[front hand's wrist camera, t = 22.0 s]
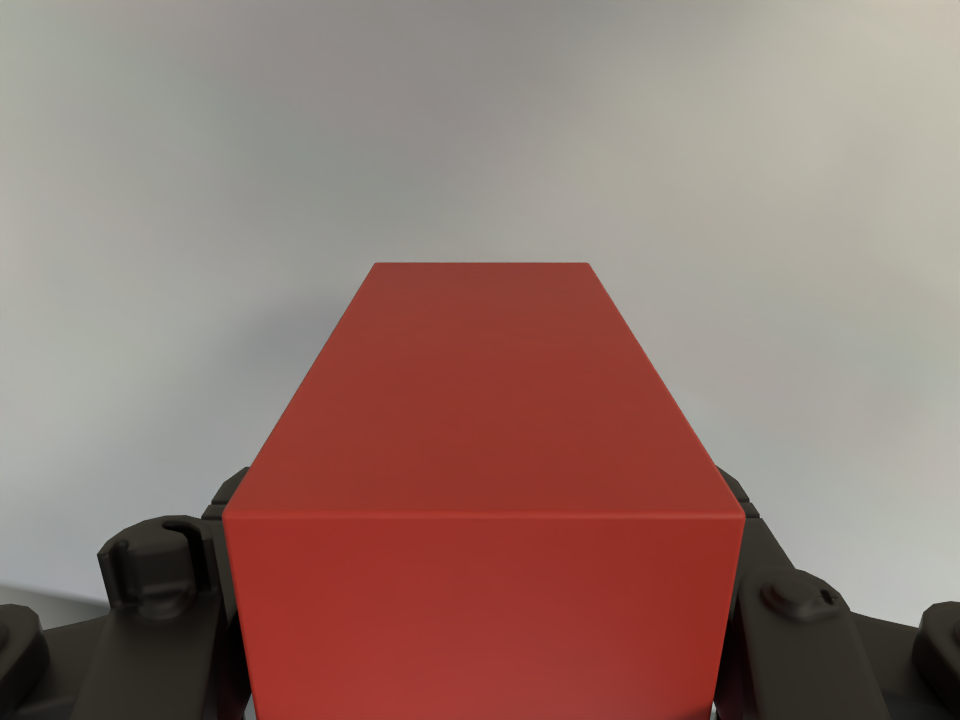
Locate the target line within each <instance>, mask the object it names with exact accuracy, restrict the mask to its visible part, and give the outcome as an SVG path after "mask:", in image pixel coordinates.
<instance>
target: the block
mask: <svg viewBox="0 0 960 720" xmlns="http://www.w3.org/2000/svg"><path fill="white" fill-rule="evenodd" d="M745 518H746V516H745V512H744V510H743V509H742V507H741V505H740V504H739V502H738V501H737V499H736V497H735V496H734V494H733V493H732V491H731V489H730V488H729V486H728V485H727V483H726V481H725V480H724V478H723V477H722V475H721V473H720V472H719V470H718V469H717V467H716V466H715V464H714V462H713V461H712V459H711V458H710V456H709V454H708V453H707V451H706V450H705V448H704V446H703V445H702V443H701V442H700V440H699V438H698V437H697V435H696V434H695V432H694V430H693V429H692V427H691V426H690V424H689V422H688V421H687V419H686V418H685V416H684V414H683V413H682V411H681V410H680V408H679V407H678V405H677V403H676V402H675V400H674V399H673V397H672V395H671V394H670V392H669V391H668V389H667V387H666V386H665V384H664V383H663V381H662V379H661V378H660V376H659V375H658V373H657V371H656V370H655V368H654V367H653V365H652V363H651V362H650V360H649V359H648V357H647V355H646V354H645V352H644V351H643V349H642V347H641V346H640V344H639V343H638V341H637V340H636V338H635V336H634V335H633V333H632V332H631V330H630V328H629V327H628V325H627V324H626V322H625V320H624V319H623V317H622V316H621V314H620V312H619V311H618V309H617V308H616V306H615V304H614V303H613V301H612V300H611V298H610V296H609V295H608V293H607V292H606V290H605V288H604V287H603V285H602V284H601V282H600V280H599V279H598V277H597V276H596V274H595V273H594V271H593V269H592V268H591V266H590V265H589V263H375V264H374V265H373V267H372V268H371V270H370V272H369V273H368V275H367V277H366V278H365V280H364V281H363V283H362V285H361V286H360V288H359V290H358V291H357V293H356V295H355V296H354V298H353V299H352V301H351V303H350V304H349V306H348V308H347V309H346V311H345V313H344V314H343V316H342V317H341V319H340V321H339V322H338V324H337V326H336V327H335V329H334V331H333V332H332V334H331V335H330V337H329V339H328V340H327V342H326V344H325V345H324V347H323V349H322V350H321V352H320V353H319V355H318V357H317V358H316V360H315V362H314V363H313V365H312V367H311V368H310V370H309V371H308V373H307V375H306V376H305V378H304V380H303V381H302V383H301V385H300V386H299V388H298V389H297V391H296V393H295V394H294V396H293V398H292V399H291V401H290V403H289V404H288V406H287V407H286V409H285V411H284V412H283V414H282V416H281V417H280V419H279V421H278V422H277V424H276V425H275V427H274V429H273V430H272V432H271V434H270V435H269V437H268V439H267V440H266V442H265V443H264V445H263V447H262V448H261V450H260V452H259V453H258V455H257V457H256V458H255V460H254V461H253V463H252V465H251V466H250V468H249V470H248V471H247V473H246V475H245V476H244V478H243V479H242V481H241V483H240V484H239V486H238V488H237V489H236V491H235V493H234V494H233V496H232V497H231V499H230V501H229V502H228V504H227V506H226V507H225V509H224V511H223V513H222V522H223V527H224V533H225V539H226V545H227V551H228V556H229V562H230V568H231V574H232V580H233V586H234V591H235V597H236V603H237V609H238V615H239V620H240V626H241V632H242V638H243V644H244V649H245V655H246V661H247V667H248V673H249V679H250V684H251V690H252V696H253V702H254V708H255V713H256V719H257V720H710V715H711V710H712V704H713V698H714V693H715V687H716V682H717V676H718V670H719V665H720V659H721V653H722V648H723V642H724V637H725V631H726V625H727V620H728V614H729V609H730V603H731V597H732V592H733V586H734V581H735V575H736V569H737V564H738V558H739V552H740V547H741V541H742V536H743V530H744V524H745Z"/></svg>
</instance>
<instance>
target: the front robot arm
mask: <svg viewBox="0 0 960 720" xmlns="http://www.w3.org/2000/svg"><path fill="white" fill-rule="evenodd" d="M715 466H716V465H715ZM716 467H717V469H718V470H719V472H720V473H721V475H722V477H723V478H724V480H725V481H726V483H727V485H728V486H729V488H730V489H731V491H732V493H733V494H734V496H735V497H736V499H737V501H738V502H739V504H740V505H741V507H742V509H743V510H744V512H745V516H746V518H745V524H744V530H743V536H742V541H741V547H740V552H739V558H738V564H737V569H736V575H735V581H734V586H733V592H732V597H731V603H730V609H729V614H728V620H727V625H726V631H725V637H724V642H723V648H722V653H721V659H720V665H719V670H718V676H717V682H716V687H715V693H714V698H713V701H714V704H715V707H716V713H715V718H714V720H960V602H953V601H949V602H943V603H937V604H933V605H932V606H930V607H929V608H928V609H927V610H926V611H924V612H923V615H922V618H921V622H920V625H919V628H916V627H912V626H907V625H903V624H898V623H894V622H889V621H885V620H880V619H876V618H871V617H868V616H864V615H861V614H857V613H854V612H851V611H850V608H849V607H848V605H847V604H846V602H845V601H844V599H843V597H842V596H841V594H840V593H839V592H837V591H836V590H835V589H834V588H832V587H831V586H830V585H829V584H828V583H826V582H825V581H824V580H822V579H820V578H818V577H815V576H813V575H811V574H809V573H807V572H805V571H802V570H798V569H795V567H794V566H793V564H792V563H791V561H790V560H789V558H788V557H787V555H786V554H785V552H784V551H783V549H782V548H781V546H780V545H779V543H778V542H777V540H776V539H775V537H774V536H773V534H772V533H771V531H770V529H769V528H768V526H767V525H766V523H765V522H764V520H763V519H762V518H760V516H759V513H758V511H757V510H756V508H755V507H754V505H753V504H752V503H750V501H749V498H748V496H747V495H746V493H745V491H744V490H743V488H742V487H741V485H740V484H739V482H738V481H737V480H736V479H734V478H733V477H732V476H730V475H729V474H727V473H726V472H725V471H723V470H722V469H720V468H719V467H718V466H716ZM249 468H250V467H245V468H243V469H242V470H240V471H239V472H238V473H236V474H235V475H234V476H232V477H231V478H229V479H228V480H227V481H225V482H224V483H223V484H222V486H221V487H220V489H219V490H218V492H217V493H216V495H215V496H214V498H213V500H212V501H211V505H209V506H208V507H207V509H206V510H205V512H204V513H203V515H202V516H201V519H199V518H195V517H191V516H187V515H172V516H162V517H158V518H153V519H149V520H145V521H142V522H140V523H137V524H135V525H133V526H130V527H128V528H126V529H124V530H122V531H121V532H119V533H118V534H117V535H115V536H114V537H112V538H111V539H109V540H108V541H107V542H106V543H105V545H104V546H103V547H102V548H101V550H100V551H99V552H98V554H97V557H98V561H99V565H100V569H101V572H102V576H103V580H104V584H105V588H106V591H107V595H108V599H109V603H110V607H111V610H110V612H109V615H106V616H102V617H99V618H95V619H92V620H88V621H83V622H79V623H75V624H70V625H66V626H61V627H57V628H52V629H48V630H43V629H42V626H41V623H40V620H39V617H38V615H37V614H36V613H35V612H34V611H32V610H31V609H30V608H29V607H26V606H21V605H15V604H6V605H0V720H246V719H245V713H244V711H245V708H246V706H247V703H248V700H249V698H250V695H251V693H252V690H251V684H250V679H249V673H248V667H247V661H246V655H245V649H244V644H243V638H242V632H241V626H240V620H239V615H238V609H237V603H236V597H235V591H234V586H233V580H232V574H231V568H230V562H229V556H228V551H227V545H226V539H225V533H224V527H223V522H222V513H223V511H224V509H225V507H226V506H227V504H228V502H229V501H230V499H231V497H232V496H233V494H234V493H235V491H236V489H237V488H238V486H239V484H240V483H241V481H242V479H243V478H244V476H245V475H246V473H247V471H248V470H249Z"/></svg>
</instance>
